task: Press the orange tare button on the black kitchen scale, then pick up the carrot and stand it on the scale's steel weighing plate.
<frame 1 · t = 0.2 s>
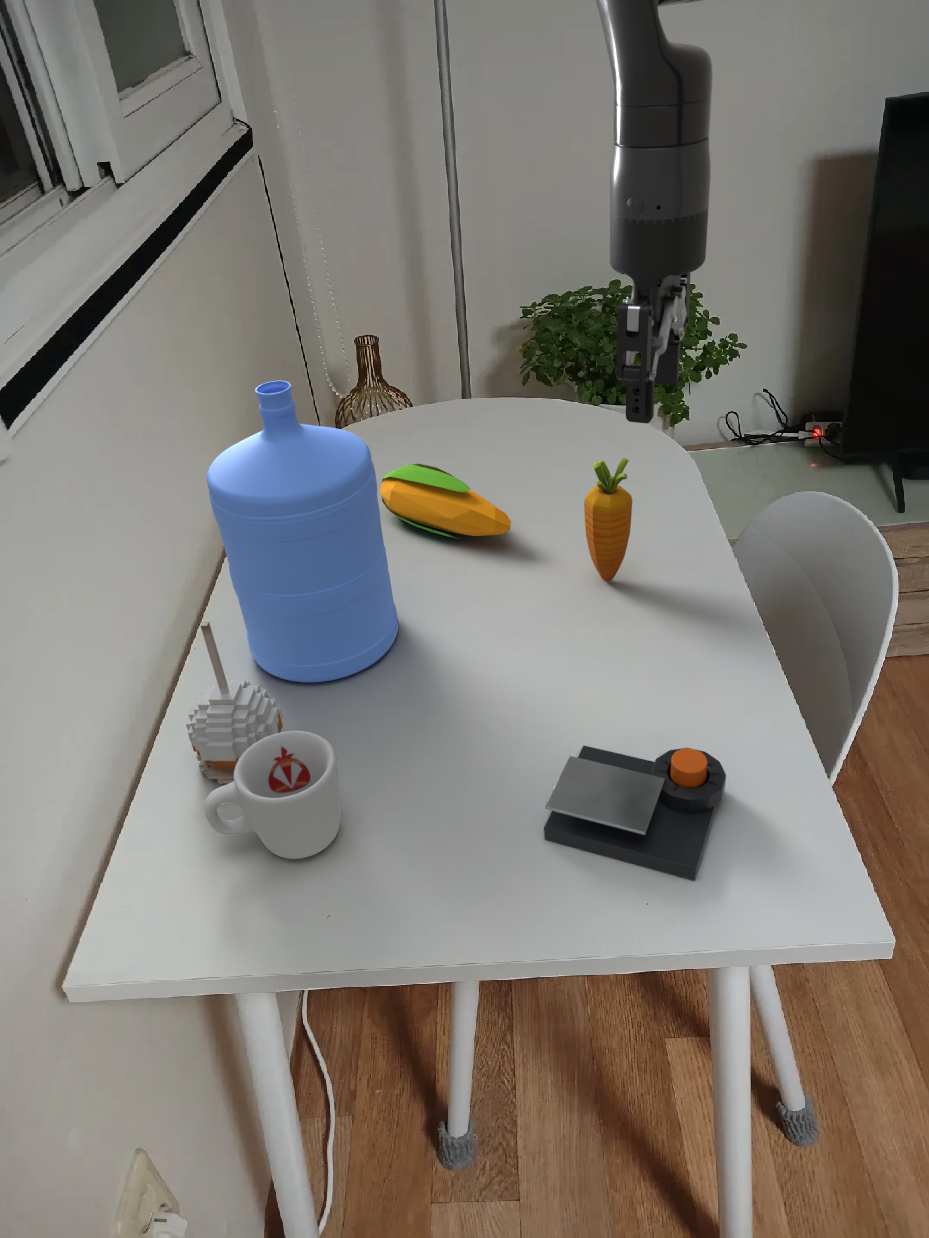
hand: (652, 401, 83), 25 cm above the table, tool pointing down, fingers open, 8 cm apart
caramel apple: (244, 758, 87), on the table
water jug: (326, 641, 101), on the table
carrot: (607, 583, 105), on the table
cup: (286, 839, 78), on the table
tare button: (688, 768, 76), point 4 cm above the table, slide at 0.1 cm
scale: (634, 814, 77), on the table
weighing plate: (605, 794, 75), resting on scale
corn: (449, 529, 118), on the table
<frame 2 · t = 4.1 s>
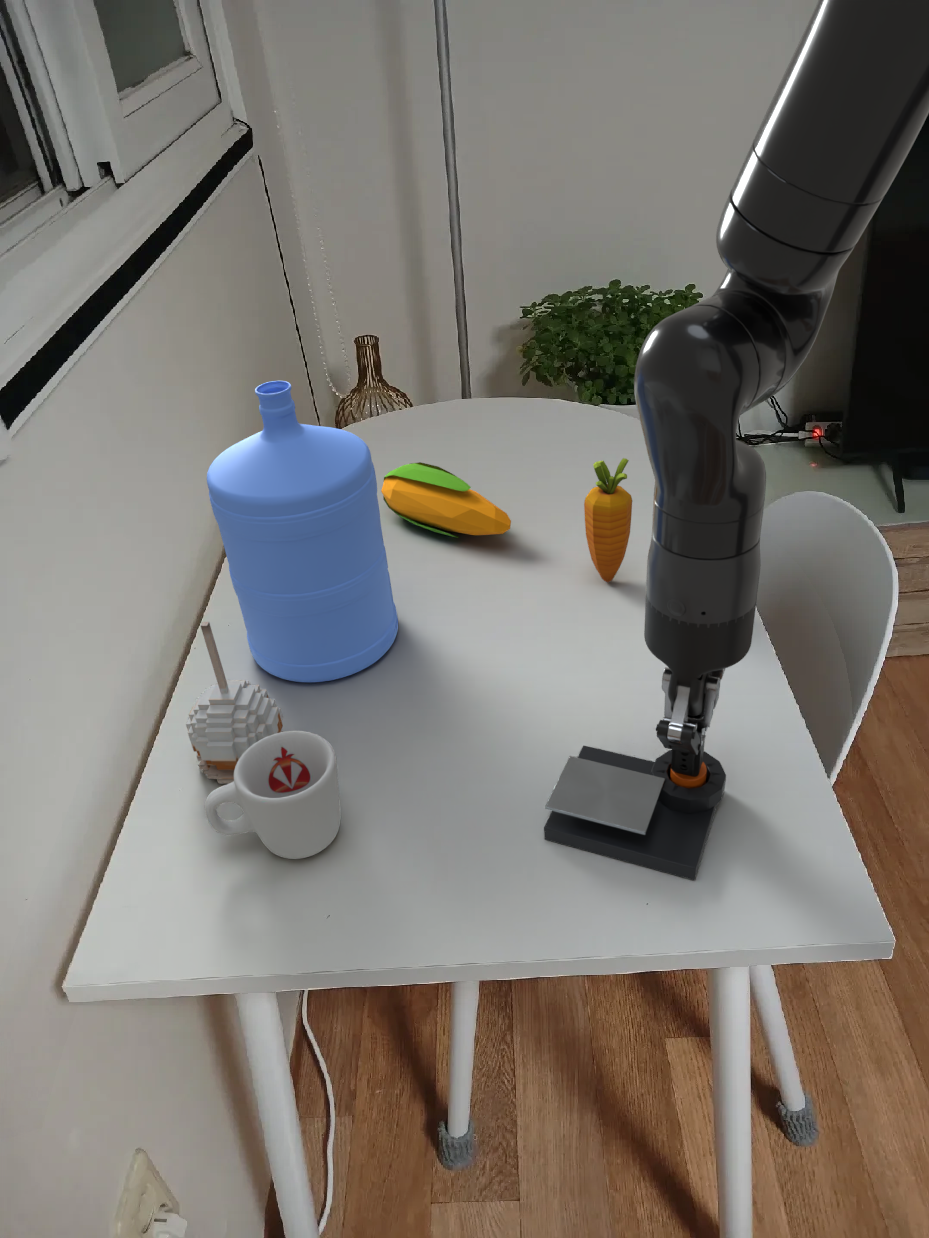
hand: (686, 768, 76), 4 cm above the table, tool pointing down, fingers closed
tare button: (688, 775, 77), point 3 cm above the table, slide at -0.7 cm, touching gripper
everything else where it was.
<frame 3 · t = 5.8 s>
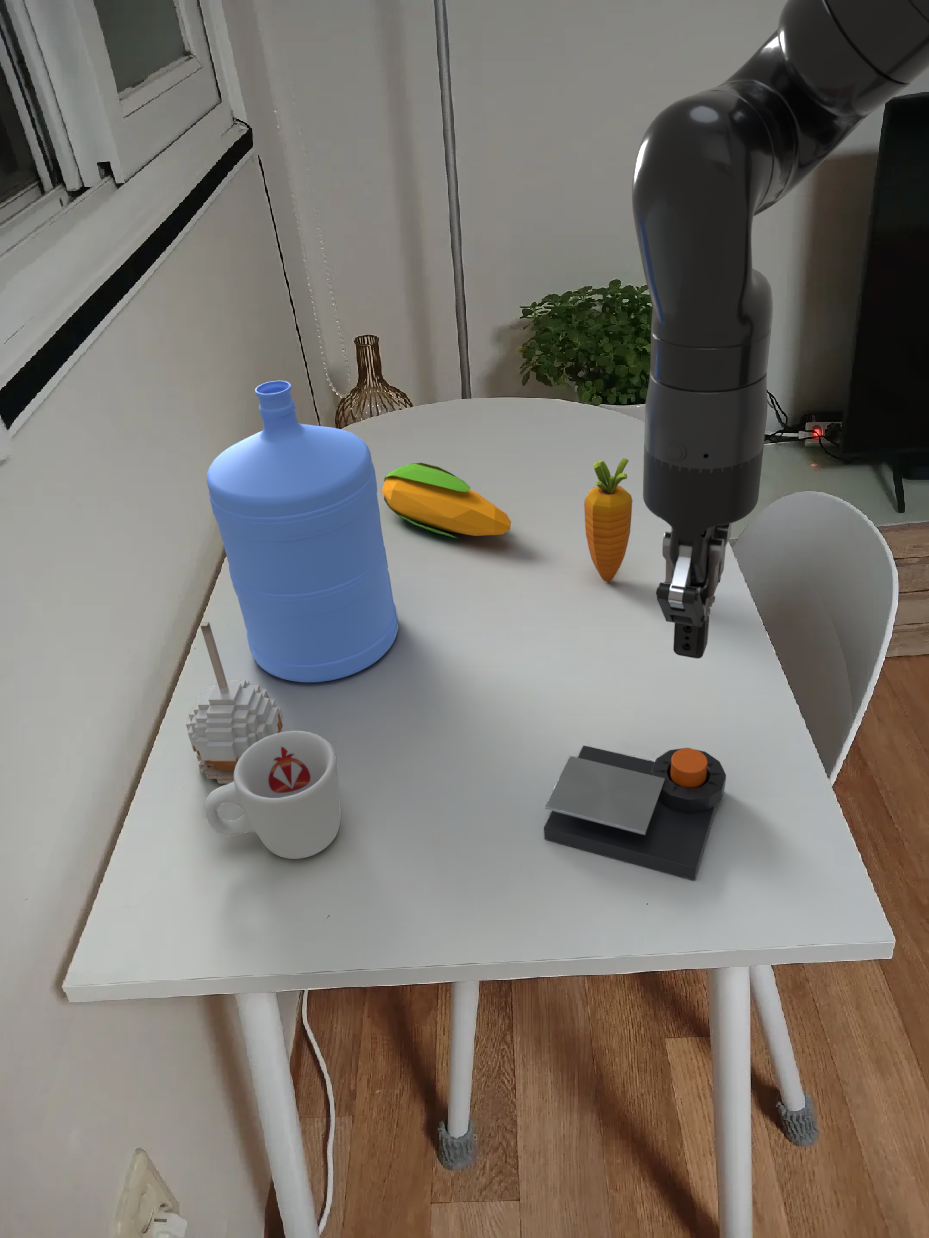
hand: (690, 650, 71), 14 cm above the table, tool pointing down, fingers closed
tare button: (688, 768, 76), point 4 cm above the table, slide at 0.1 cm
everything else where it was.
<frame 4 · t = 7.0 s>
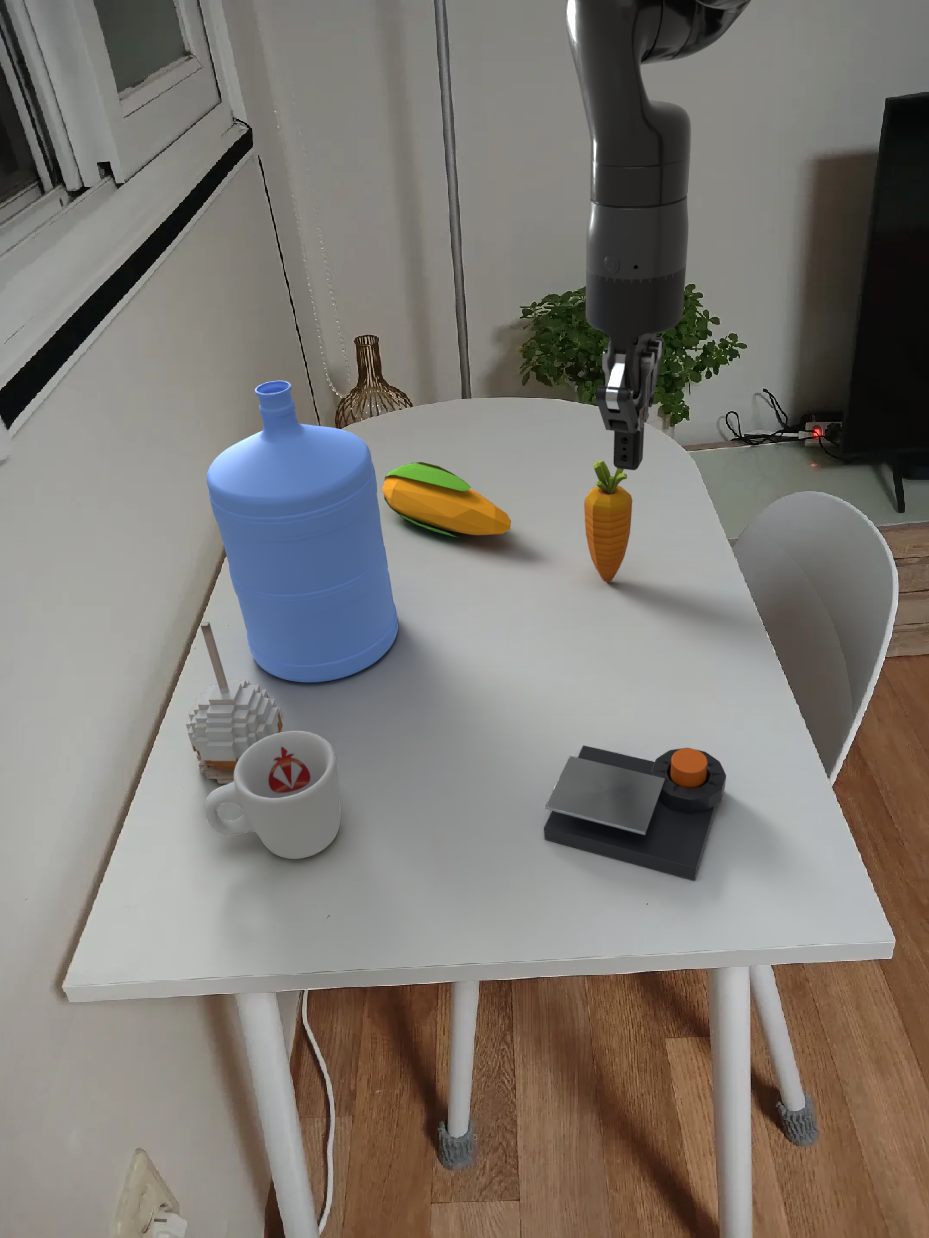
hand: (627, 465, 82), 21 cm above the table, tool pointing down, fingers closed
nothing on the table moved.
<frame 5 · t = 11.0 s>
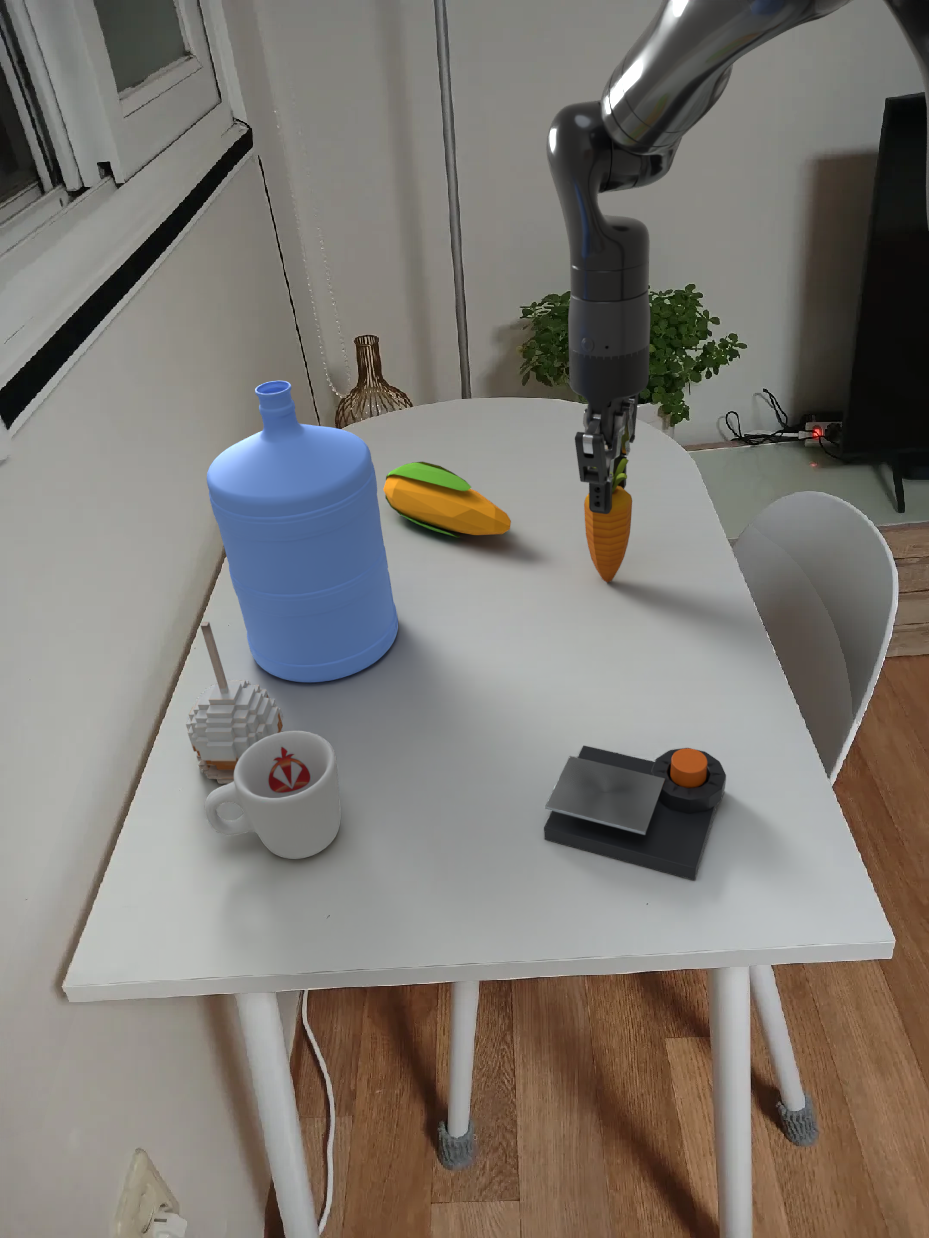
hand: (608, 499, 99), 10 cm above the table, tool pointing down, fingers closed on carrot, 4 cm apart
carrot: (607, 583, 105), on the table, touching gripper
everything else where it was.
when the fingers open (14 cm above the table, at t = 19.2 s): carrot stays where it is, resting on weighing plate.
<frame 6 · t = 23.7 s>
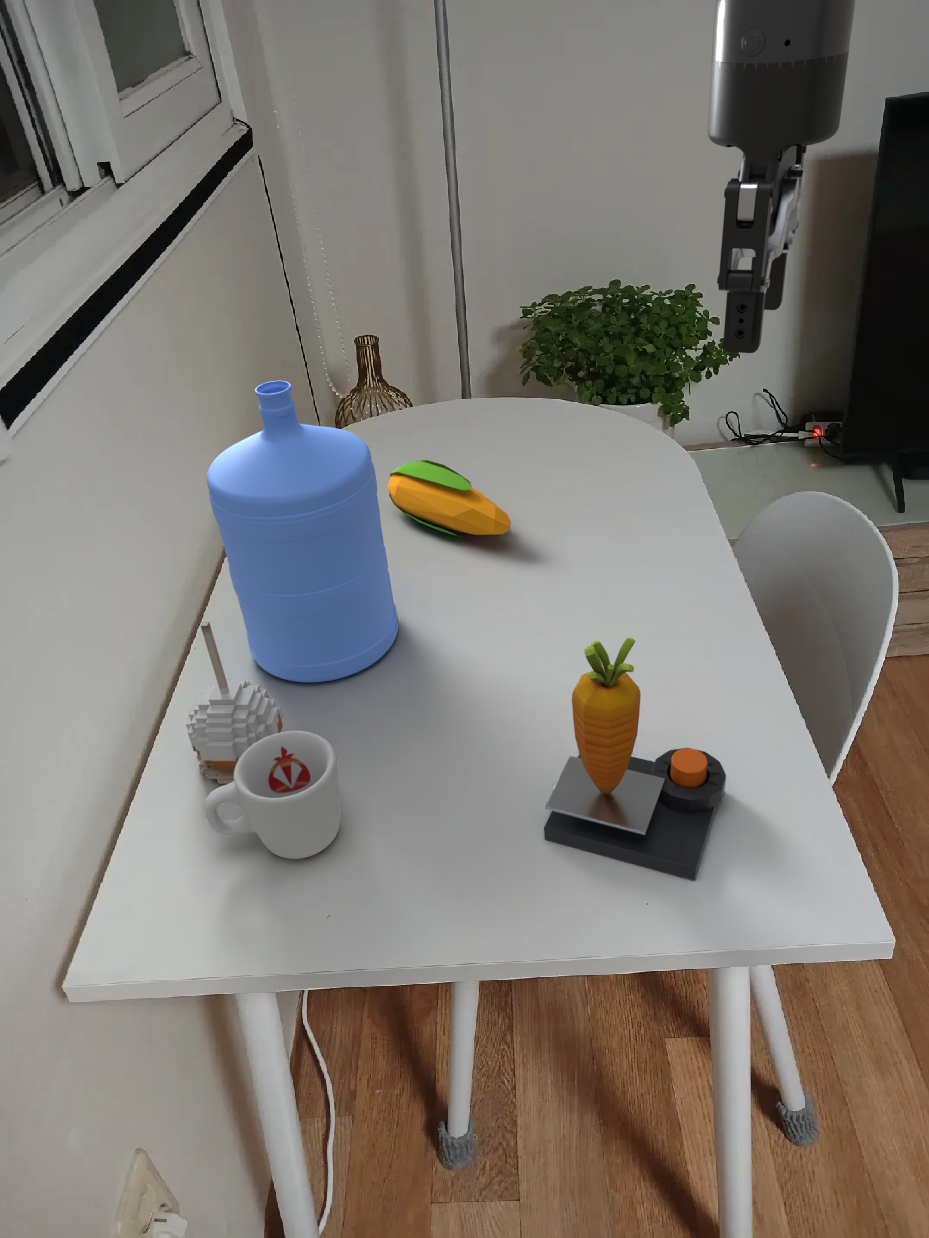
hand: (753, 328, 64), 36 cm above the table, tool pointing down, fingers open, 8 cm apart
carrot: (605, 794, 75), point 3 cm above the table, touching weighing plate
everything else where it was.
at the end: tare button pushed in 1.0 cm at the most during the clip, back to where it started at the end; carrot inside the target area on the scale (0.0 cm from its centre), point 3.1 cm above the scale's base; carrot tilted 0° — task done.
